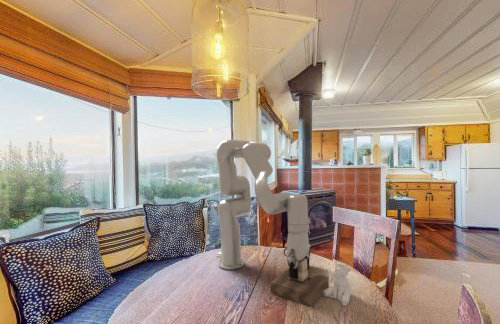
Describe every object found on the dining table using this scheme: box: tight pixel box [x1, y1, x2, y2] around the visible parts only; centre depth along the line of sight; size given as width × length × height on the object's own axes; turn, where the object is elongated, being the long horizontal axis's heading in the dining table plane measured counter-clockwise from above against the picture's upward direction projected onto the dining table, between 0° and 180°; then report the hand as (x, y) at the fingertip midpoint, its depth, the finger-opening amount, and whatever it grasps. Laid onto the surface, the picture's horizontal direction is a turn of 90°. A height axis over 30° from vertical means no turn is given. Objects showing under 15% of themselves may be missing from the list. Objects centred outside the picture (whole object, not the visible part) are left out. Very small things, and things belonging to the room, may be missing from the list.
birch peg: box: [292, 258, 309, 285], centre depth 93 cm, size 4×4×12 cm
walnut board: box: [270, 268, 330, 308], centre depth 93 cm, size 16×16×4 cm
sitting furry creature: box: [322, 261, 352, 307], centre depth 87 cm, size 10×9×12 cm
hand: (299, 273), depth 93 cm, fingers open, 9 cm apart
